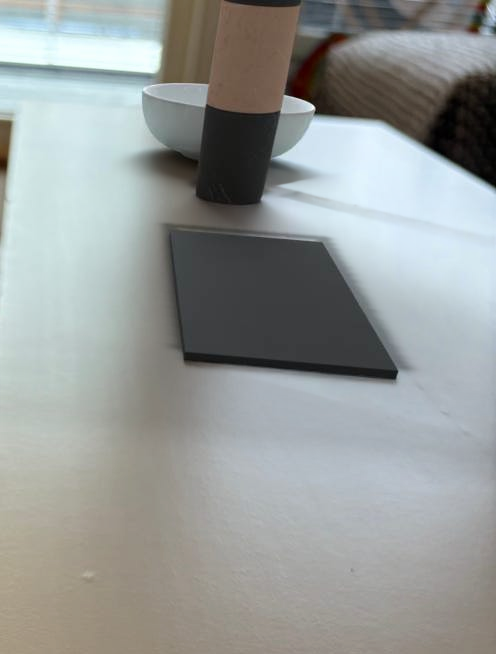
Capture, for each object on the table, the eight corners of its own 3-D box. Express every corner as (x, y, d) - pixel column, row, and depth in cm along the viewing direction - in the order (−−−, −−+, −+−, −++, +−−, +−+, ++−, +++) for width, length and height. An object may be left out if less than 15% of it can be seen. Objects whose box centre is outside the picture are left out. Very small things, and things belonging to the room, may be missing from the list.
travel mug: (207, 181, 109) (241, -36, 96) (273, 193, 106) (317, -29, 93) (182, 196, 103) (214, -31, 91) (250, 209, 101) (293, -23, 88)
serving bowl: (269, 185, 111) (282, 117, 106) (106, 156, 119) (113, 92, 115) (324, 159, 125) (338, 99, 121) (176, 135, 133) (184, 77, 129)
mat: (169, 235, 90) (170, 229, 90) (320, 248, 90) (322, 241, 89) (183, 360, 65) (185, 351, 64) (396, 379, 64) (398, 370, 64)
